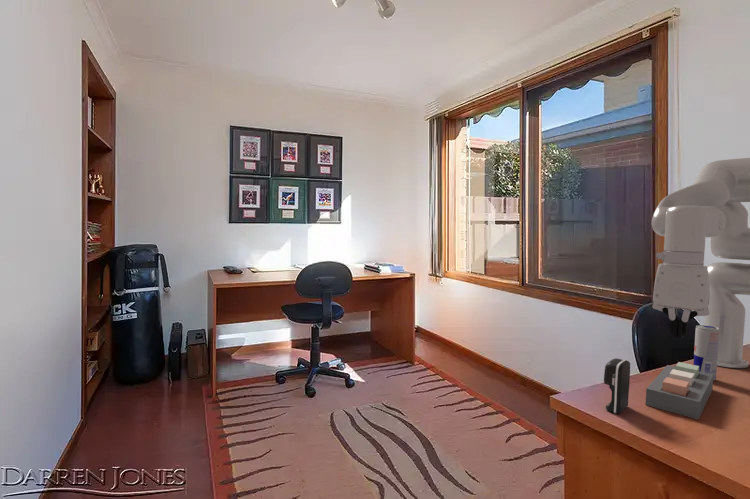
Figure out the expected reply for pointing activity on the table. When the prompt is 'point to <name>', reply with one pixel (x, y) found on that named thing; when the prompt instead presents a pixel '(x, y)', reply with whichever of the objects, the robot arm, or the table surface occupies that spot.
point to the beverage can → (706, 349)
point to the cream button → (682, 376)
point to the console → (679, 403)
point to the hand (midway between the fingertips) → (678, 337)
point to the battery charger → (618, 384)
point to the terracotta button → (675, 386)
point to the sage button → (688, 368)
